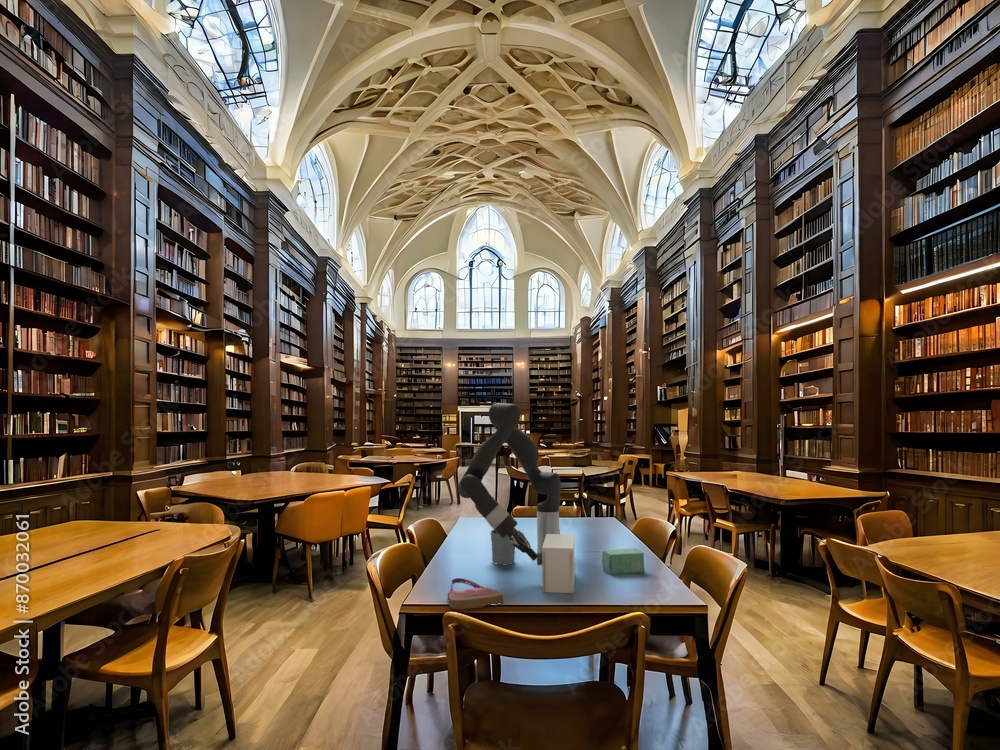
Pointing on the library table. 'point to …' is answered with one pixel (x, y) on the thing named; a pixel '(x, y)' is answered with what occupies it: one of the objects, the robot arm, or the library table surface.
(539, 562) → the knob
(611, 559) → the box
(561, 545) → the console
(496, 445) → the robot arm
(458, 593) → the shoulder bag
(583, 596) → the library table surface
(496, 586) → the library table surface
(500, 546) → the grey green cup
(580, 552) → the library table surface
